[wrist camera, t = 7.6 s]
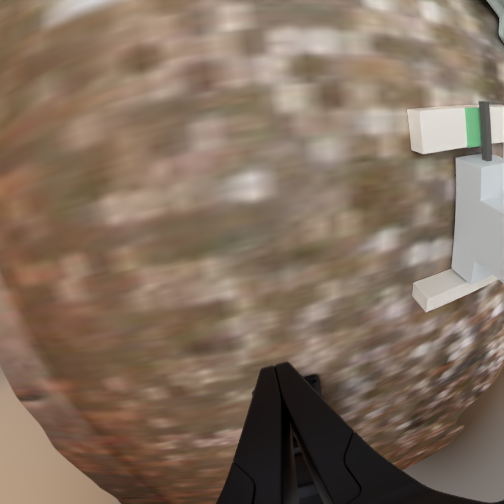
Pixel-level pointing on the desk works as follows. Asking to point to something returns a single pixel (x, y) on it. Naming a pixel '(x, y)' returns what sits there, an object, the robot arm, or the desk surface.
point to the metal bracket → (499, 14)
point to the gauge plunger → (479, 210)
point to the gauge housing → (441, 139)
